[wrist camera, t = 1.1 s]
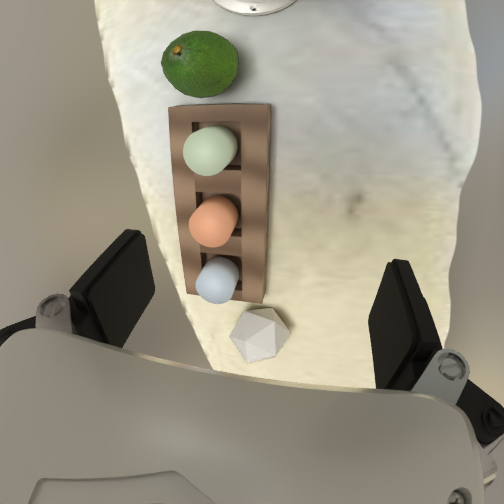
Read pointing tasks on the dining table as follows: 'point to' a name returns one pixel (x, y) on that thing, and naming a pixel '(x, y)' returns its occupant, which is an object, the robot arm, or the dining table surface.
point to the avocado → (200, 64)
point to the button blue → (217, 280)
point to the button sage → (210, 150)
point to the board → (226, 192)
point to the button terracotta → (213, 221)
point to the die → (259, 334)
